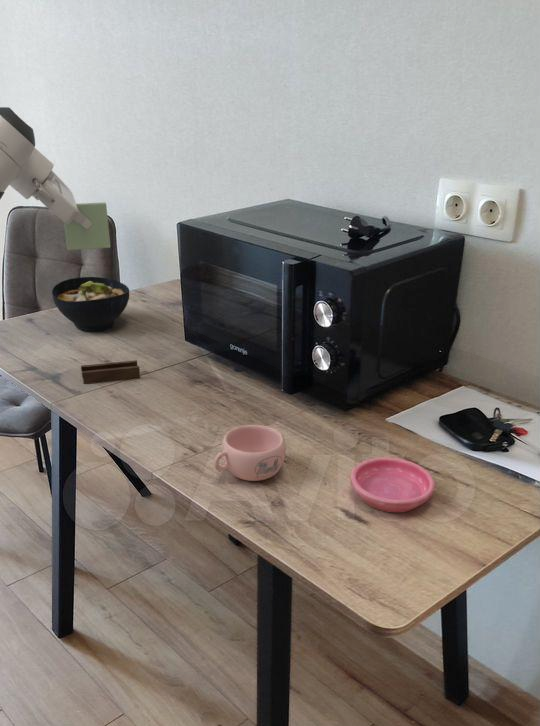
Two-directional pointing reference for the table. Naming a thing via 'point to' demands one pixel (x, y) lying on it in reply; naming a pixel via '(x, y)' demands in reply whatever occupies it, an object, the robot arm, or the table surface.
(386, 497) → the saucer
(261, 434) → the mug
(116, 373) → the rack
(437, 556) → the table surface
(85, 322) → the bowl
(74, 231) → the green square tile
